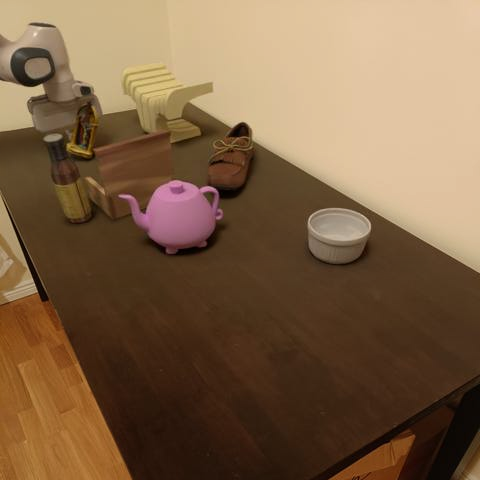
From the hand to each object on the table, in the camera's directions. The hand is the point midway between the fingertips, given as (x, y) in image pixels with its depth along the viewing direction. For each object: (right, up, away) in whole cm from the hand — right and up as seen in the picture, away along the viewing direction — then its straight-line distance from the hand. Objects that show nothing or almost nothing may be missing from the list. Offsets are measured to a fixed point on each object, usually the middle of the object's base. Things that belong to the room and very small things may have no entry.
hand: (74, 139), depth 131 cm
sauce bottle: (+11, -31, -26) cm, 42 cm away
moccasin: (+49, -14, -10) cm, 52 cm away
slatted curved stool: (+27, +7, +13) cm, 31 cm away
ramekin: (+72, -40, -37) cm, 90 cm away
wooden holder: (+23, -23, -19) cm, 37 cm away
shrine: (+4, -5, +1) cm, 6 cm away
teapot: (+37, -37, -33) cm, 62 cm away
